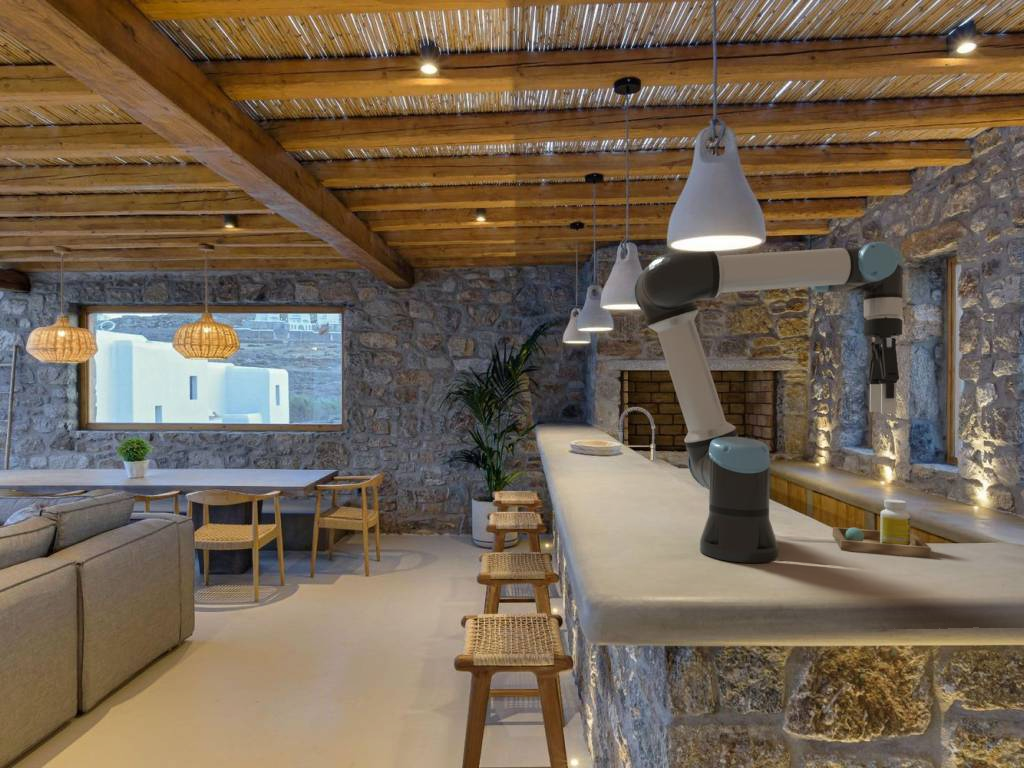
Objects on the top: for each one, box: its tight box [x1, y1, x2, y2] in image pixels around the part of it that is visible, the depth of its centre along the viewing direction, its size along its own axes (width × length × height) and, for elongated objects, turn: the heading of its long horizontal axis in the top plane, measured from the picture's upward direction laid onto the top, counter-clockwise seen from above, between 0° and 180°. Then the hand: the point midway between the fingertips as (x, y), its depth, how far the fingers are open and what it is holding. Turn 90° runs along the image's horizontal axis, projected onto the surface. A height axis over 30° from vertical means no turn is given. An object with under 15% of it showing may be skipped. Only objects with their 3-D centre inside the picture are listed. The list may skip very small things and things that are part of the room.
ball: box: [846, 526, 864, 541], centre depth 138 cm, size 4×4×4 cm
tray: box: [832, 526, 932, 559], centre depth 136 cm, size 16×14×2 cm
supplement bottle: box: [879, 498, 911, 545], centre depth 135 cm, size 5×5×10 cm
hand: (882, 413), depth 143 cm, fingers open, 13 cm apart
